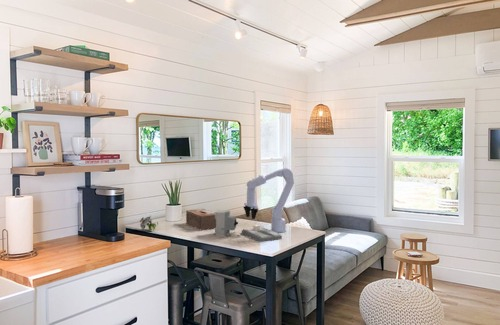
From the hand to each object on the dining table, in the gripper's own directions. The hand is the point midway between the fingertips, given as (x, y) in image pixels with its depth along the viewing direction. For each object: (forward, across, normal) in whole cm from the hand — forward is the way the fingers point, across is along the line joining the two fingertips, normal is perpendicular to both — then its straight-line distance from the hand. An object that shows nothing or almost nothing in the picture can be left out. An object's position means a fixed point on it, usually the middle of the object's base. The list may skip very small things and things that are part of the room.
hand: (250, 217), depth 263 cm
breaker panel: (+9, +14, 0) cm, 17 cm away
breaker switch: (+7, +8, 0) cm, 11 cm away
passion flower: (+10, -35, -60) cm, 70 cm away
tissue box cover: (+10, -31, -22) cm, 39 cm away
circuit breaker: (+10, 0, -18) cm, 20 cm away
